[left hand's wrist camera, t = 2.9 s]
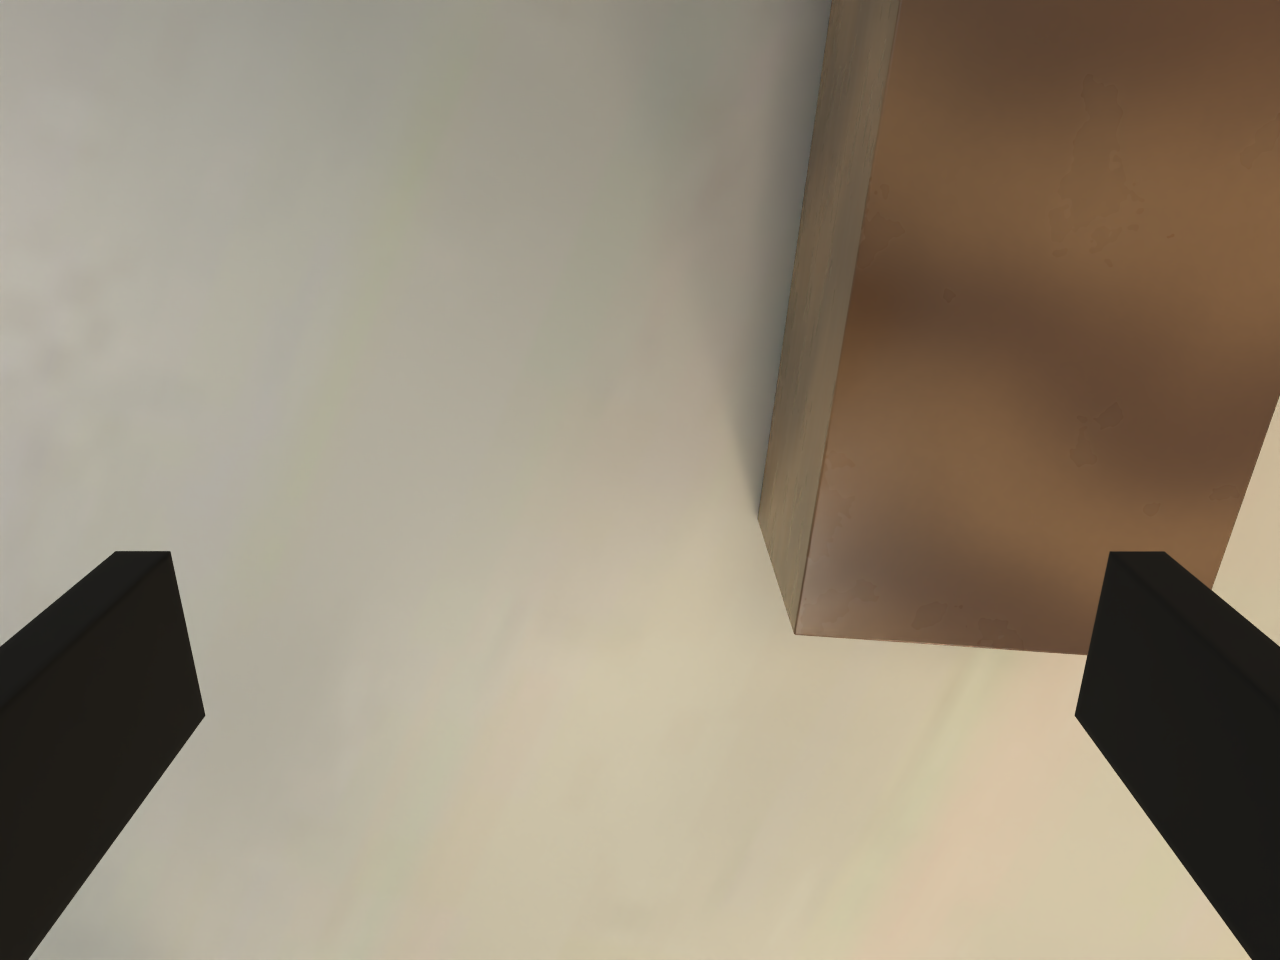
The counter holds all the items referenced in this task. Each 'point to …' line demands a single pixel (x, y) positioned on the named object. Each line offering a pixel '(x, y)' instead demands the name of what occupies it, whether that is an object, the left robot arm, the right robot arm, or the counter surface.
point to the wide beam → (1024, 312)
